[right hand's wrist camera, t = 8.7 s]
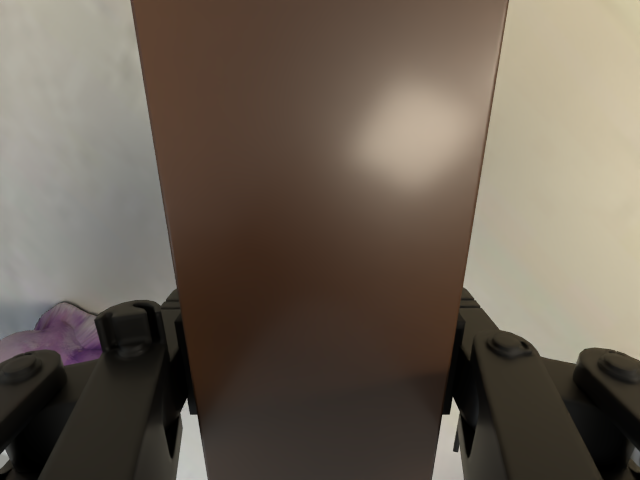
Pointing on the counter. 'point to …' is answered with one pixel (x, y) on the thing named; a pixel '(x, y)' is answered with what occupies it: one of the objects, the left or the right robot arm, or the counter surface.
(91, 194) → the counter surface
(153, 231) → the counter surface
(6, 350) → the figurine
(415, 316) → the walnut plank
